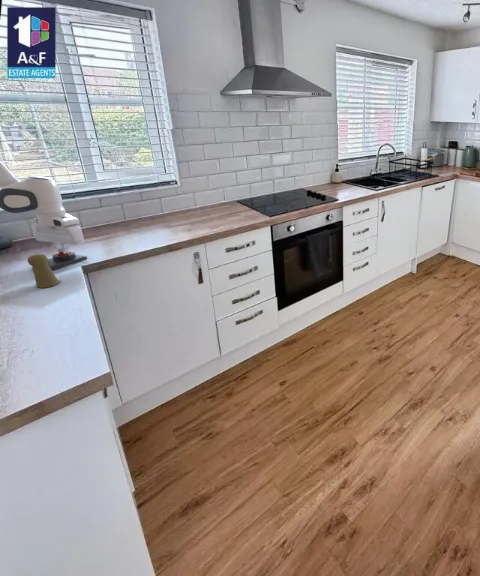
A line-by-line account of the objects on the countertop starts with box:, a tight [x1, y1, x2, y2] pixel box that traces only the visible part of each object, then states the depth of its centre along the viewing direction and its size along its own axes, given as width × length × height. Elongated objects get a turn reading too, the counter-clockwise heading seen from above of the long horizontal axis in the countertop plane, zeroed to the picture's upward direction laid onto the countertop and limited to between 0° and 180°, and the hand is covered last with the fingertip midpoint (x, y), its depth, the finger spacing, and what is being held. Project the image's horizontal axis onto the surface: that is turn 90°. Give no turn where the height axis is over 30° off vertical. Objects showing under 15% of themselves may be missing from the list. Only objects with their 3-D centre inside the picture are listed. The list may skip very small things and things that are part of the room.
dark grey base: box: [47, 251, 88, 272], centre depth 148 cm, size 14×10×5 cm
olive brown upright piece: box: [27, 253, 60, 289], centre depth 130 cm, size 6×6×11 cm
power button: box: [56, 251, 71, 256], centre depth 149 cm, size 4×4×2 cm
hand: (63, 253), depth 149 cm, fingers closed, pressing on power button
